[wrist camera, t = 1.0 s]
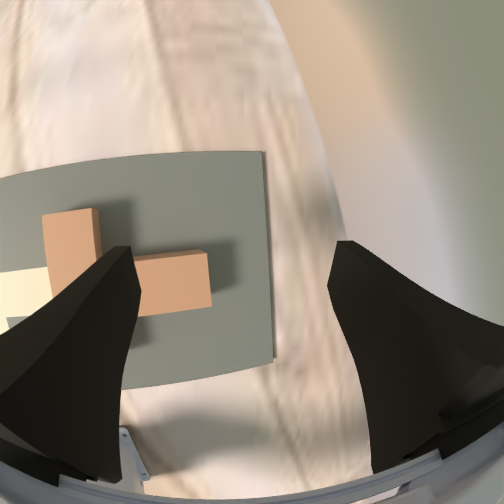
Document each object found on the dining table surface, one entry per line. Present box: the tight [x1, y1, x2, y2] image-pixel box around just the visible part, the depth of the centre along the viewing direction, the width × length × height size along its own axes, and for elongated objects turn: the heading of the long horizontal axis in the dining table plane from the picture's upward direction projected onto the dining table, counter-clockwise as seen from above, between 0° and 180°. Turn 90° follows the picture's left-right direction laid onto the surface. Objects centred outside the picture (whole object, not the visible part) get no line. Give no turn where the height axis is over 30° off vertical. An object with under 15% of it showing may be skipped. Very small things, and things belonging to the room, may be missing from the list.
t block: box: [42, 208, 212, 317], centre depth 20 cm, size 12×12×3 cm
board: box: [0, 151, 273, 390], centre depth 20 cm, size 20×34×1 cm, turn 95°
